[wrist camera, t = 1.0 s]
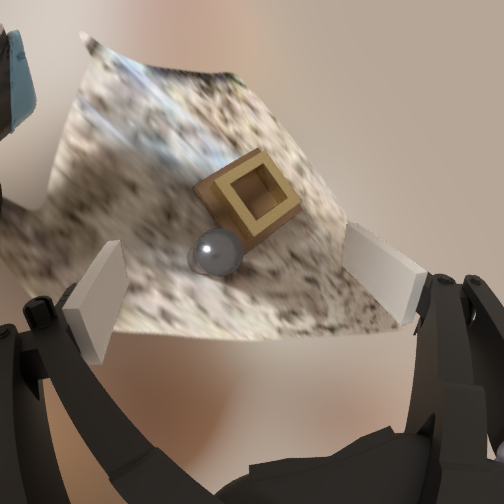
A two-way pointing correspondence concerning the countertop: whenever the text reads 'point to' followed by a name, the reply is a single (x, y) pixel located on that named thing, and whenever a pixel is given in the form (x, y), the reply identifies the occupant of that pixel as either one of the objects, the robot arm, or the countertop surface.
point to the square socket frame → (272, 182)
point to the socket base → (251, 196)
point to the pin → (216, 253)
